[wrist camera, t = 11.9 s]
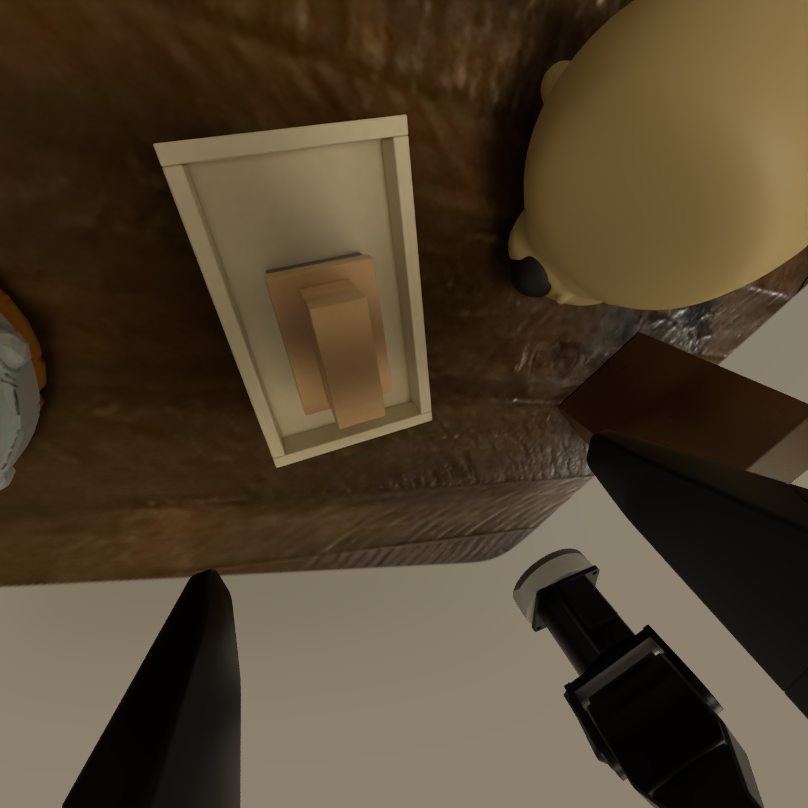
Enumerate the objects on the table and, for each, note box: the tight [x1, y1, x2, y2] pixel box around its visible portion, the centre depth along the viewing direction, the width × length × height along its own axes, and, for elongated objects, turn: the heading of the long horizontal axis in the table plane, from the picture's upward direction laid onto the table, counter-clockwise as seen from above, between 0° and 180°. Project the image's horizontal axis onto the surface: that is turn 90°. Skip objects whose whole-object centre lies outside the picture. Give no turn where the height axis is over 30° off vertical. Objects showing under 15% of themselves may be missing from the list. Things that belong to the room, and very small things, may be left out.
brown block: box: [559, 332, 808, 484], centre depth 24 cm, size 7×5×10 cm
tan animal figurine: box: [508, 0, 808, 310], centre depth 15 cm, size 10×12×11 cm
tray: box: [153, 115, 432, 468], centre depth 17 cm, size 13×8×2 cm, turn 7°
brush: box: [264, 252, 393, 429], centre depth 17 cm, size 6×4×4 cm
